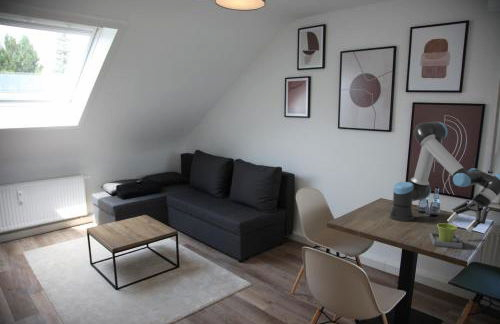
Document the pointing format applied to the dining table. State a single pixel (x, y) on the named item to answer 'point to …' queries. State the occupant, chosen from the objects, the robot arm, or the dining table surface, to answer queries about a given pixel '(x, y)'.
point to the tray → (436, 242)
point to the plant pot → (446, 232)
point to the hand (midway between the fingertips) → (457, 226)
